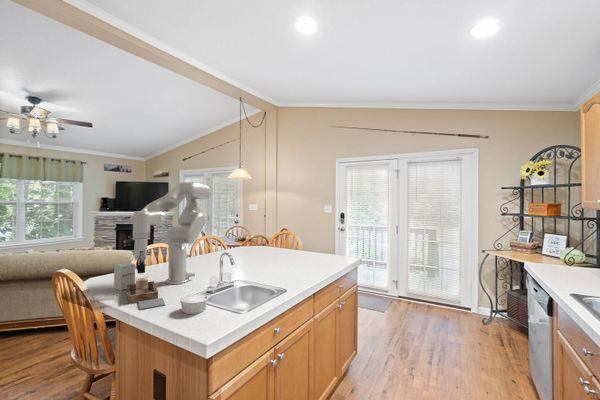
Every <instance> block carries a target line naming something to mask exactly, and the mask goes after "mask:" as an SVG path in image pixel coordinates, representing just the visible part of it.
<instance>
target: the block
mask: <svg viewBox="0 0 600 400" xmlns="http://www.w3.org/2000/svg"><path fill="white" fill-rule="evenodd" d="M148 282H149V278H148V276H147V277H137V278H135V284H136V291H135V294H142V293H148V292H149V289H148Z"/></svg>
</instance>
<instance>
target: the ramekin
mask: <svg viewBox="0 0 600 400" xmlns="http://www.w3.org/2000/svg"><path fill="white" fill-rule="evenodd" d="M208 300H209V296H208V295H206V294H203V293H194V294H188V295H185V296H183V297H181V298H180V301H179V302H180V305H181V310H182V312H183V313H184V314H186V315H197V314H201V313H203V312H204V311H205V310H206V309H207V305H208Z"/></svg>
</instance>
